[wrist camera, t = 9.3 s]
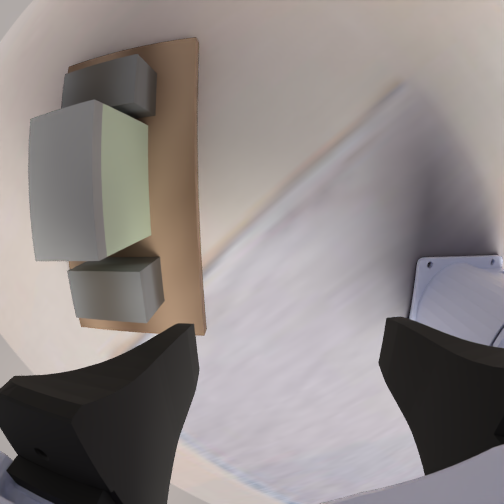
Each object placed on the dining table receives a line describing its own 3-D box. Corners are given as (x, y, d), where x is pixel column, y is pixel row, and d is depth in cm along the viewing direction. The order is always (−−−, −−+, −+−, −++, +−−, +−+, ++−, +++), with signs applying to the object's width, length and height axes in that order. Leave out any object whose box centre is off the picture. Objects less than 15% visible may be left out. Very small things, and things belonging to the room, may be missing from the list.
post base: (198, 43, 16) (184, 11, 12) (206, 328, 21) (194, 363, 16) (75, 70, 17) (42, 53, 12) (87, 321, 21) (57, 347, 16)
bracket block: (148, 125, 17) (94, 99, 10) (151, 235, 18) (98, 261, 12) (95, 134, 17) (30, 118, 10) (98, 237, 18) (35, 261, 12)
